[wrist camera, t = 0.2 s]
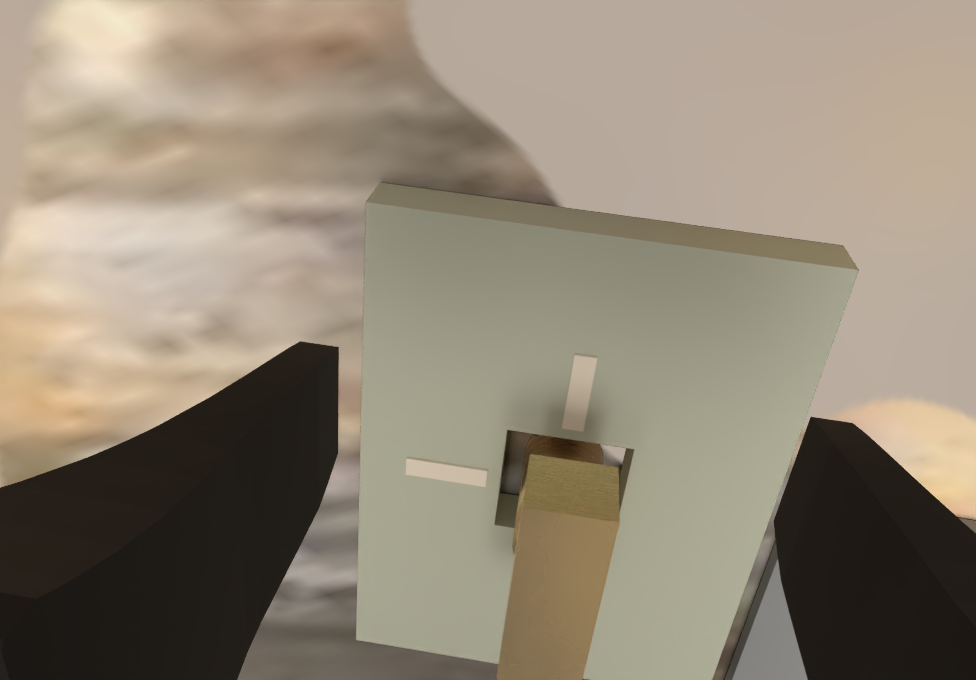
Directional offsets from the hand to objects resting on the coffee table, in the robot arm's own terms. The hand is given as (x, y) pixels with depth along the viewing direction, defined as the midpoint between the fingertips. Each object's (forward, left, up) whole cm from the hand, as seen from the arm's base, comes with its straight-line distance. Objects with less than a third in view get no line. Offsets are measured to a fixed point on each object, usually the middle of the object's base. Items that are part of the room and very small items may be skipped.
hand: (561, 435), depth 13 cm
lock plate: (-8, -1, -10) cm, 13 cm away
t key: (-8, -1, -10) cm, 13 cm away
